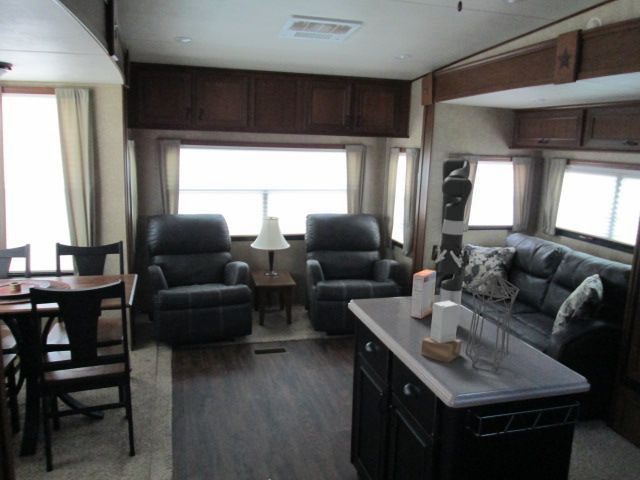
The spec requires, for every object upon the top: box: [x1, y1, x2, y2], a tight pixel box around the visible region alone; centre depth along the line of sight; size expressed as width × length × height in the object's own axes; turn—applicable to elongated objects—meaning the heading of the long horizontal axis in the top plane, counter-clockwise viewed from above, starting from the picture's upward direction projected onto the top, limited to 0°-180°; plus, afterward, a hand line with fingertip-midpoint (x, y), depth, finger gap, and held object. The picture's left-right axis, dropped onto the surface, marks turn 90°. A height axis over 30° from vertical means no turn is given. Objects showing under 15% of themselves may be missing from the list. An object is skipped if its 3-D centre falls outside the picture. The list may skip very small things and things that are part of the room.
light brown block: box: [420, 335, 462, 364], centre depth 203 cm, size 11×11×6 cm
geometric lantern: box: [464, 273, 520, 372], centre depth 192 cm, size 16×16×35 cm
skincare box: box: [429, 300, 459, 344], centre depth 201 cm, size 8×6×15 cm
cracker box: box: [410, 268, 437, 320], centre depth 250 cm, size 14×6×21 cm, turn 144°
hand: (448, 274), depth 198 cm, fingers open, 8 cm apart
